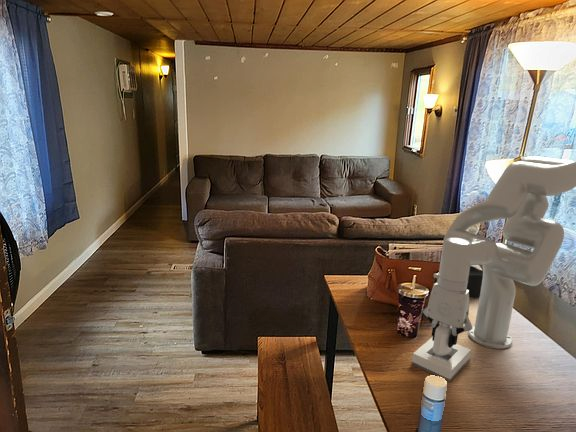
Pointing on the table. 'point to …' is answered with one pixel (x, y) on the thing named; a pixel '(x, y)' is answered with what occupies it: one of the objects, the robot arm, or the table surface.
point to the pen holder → (474, 282)
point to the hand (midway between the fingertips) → (443, 341)
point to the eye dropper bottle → (442, 340)
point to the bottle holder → (441, 360)
